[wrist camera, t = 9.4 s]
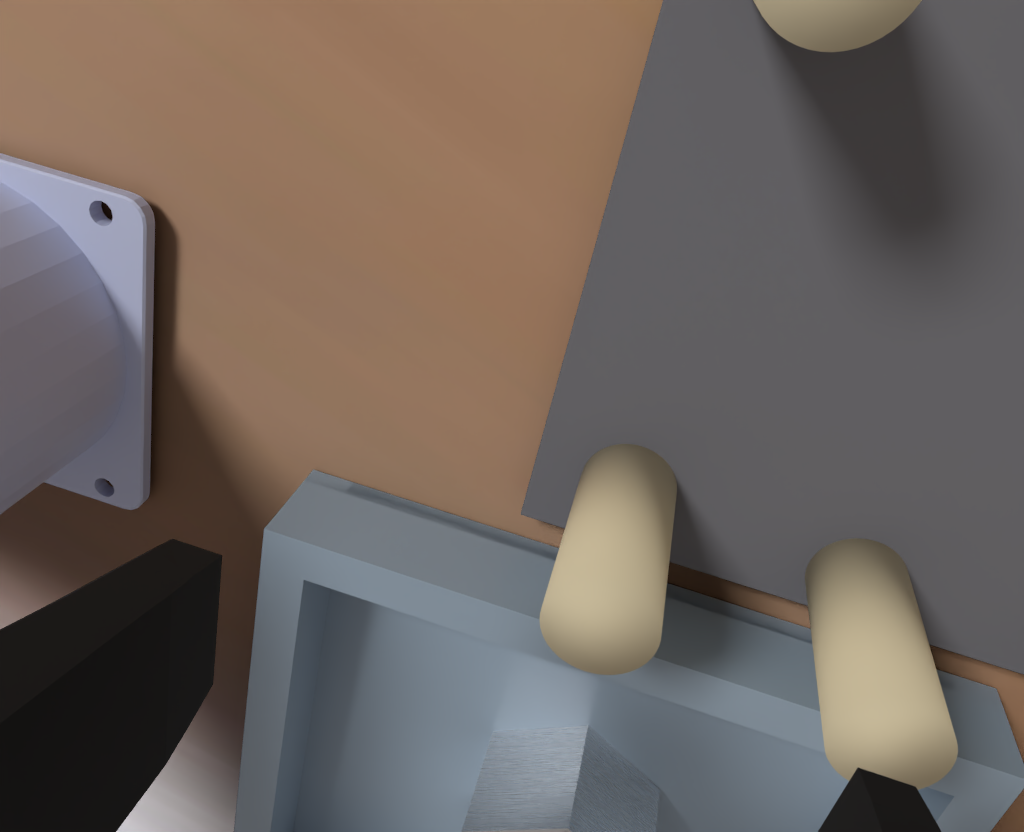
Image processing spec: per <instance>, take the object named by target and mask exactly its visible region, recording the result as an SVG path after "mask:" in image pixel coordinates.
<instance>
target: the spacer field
mask: <svg viewBox="0 0 1024 832" xmlns="http://www.w3.org/2000/svg"><path fill="white" fill-rule="evenodd" d="M521 515H524V516H527V517H531V518H534V519H537V520H540V521H543V522H546V523H549V524H552V525H556V526H559V527H562V528H565V531H564V534H563V537H562V541H561V544H560V547H559V551H558V554H557V557H556V561H555V564H554V567H553V571H552V574H551V577H550V581H549V584H548V587H547V591H546V594H545V597H544V601H543V604H542V607H541V612H540V628H541V632H542V635H543V637H544V639H545V641H546V643H547V644H548V646H549V647H550V648H551V650H552V651H553V652H554V653H555V654H556V655H557V656H558V657H560V658H561V659H562V660H563V661H565V662H566V663H568V664H570V665H571V666H573V667H575V668H578V669H580V670H583V671H586V672H589V673H594V674H600V675H617V674H624V673H628V672H631V671H633V670H636V669H638V668H640V667H642V666H643V665H645V664H646V663H647V662H648V661H649V660H650V659H651V658H652V657H653V656H654V655H655V653H656V652H657V650H658V648H659V645H660V642H661V635H662V626H663V617H664V607H665V598H666V589H667V579H668V570H669V562H672V563H675V564H678V565H681V566H684V567H688V568H691V569H694V570H697V571H700V572H703V573H706V574H710V575H713V576H716V577H719V578H722V579H725V580H728V581H732V582H735V583H738V584H741V585H744V586H747V587H750V588H754V589H757V590H760V591H763V592H766V593H769V594H772V595H776V596H779V597H782V598H785V599H788V600H791V601H794V602H798V603H801V604H804V605H807V606H808V611H809V619H810V628H811V637H812V645H813V654H814V662H815V671H816V680H817V688H818V697H819V705H820V714H821V722H822V731H823V740H824V748H825V753H826V757H827V759H828V761H829V763H830V764H831V765H832V767H833V768H834V769H835V770H836V771H837V772H838V773H839V774H840V775H841V776H842V777H844V778H845V779H847V780H848V781H850V779H851V777H852V776H853V774H854V773H855V771H856V769H857V768H861V769H864V770H867V771H870V772H873V773H876V774H879V775H882V776H885V777H888V778H891V779H894V780H897V781H900V782H903V783H906V784H909V785H912V786H915V787H916V788H917V789H918V790H919V789H923V788H925V787H928V786H930V785H932V784H934V783H936V782H938V781H939V780H941V779H942V778H943V777H944V776H945V775H947V774H948V772H949V771H950V770H951V769H952V767H953V766H954V764H955V761H956V759H957V754H958V744H957V740H956V736H955V733H954V729H953V726H952V722H951V719H950V715H949V712H948V708H947V705H946V701H945V698H944V694H943V691H942V688H941V684H940V681H939V677H938V674H937V670H936V667H935V663H934V660H933V656H932V653H931V649H930V646H929V645H933V646H936V647H939V648H942V649H945V650H948V651H951V652H955V653H958V654H961V655H964V656H967V657H970V658H973V659H977V660H980V661H983V662H986V663H989V664H992V665H995V666H999V667H1002V668H1005V669H1008V670H1011V671H1014V672H1017V673H1021V674H1024V0H663V3H662V7H661V10H660V14H659V17H658V21H657V25H656V28H655V32H654V35H653V39H652V43H651V46H650V50H649V53H648V57H647V61H646V64H645V68H644V71H643V75H642V79H641V82H640V86H639V90H638V93H637V97H636V100H635V104H634V108H633V111H632V115H631V118H630V122H629V126H628V129H627V133H626V136H625V140H624V144H623V147H622V151H621V154H620V158H619V162H618V165H617V169H616V172H615V176H614V180H613V183H612V187H611V190H610V194H609V198H608V201H607V205H606V208H605V212H604V216H603V219H602V223H601V226H600V230H599V234H598V237H597V241H596V244H595V248H594V252H593V255H592V259H591V262H590V266H589V270H588V273H587V277H586V280H585V284H584V288H583V291H582V295H581V298H580V302H579V306H578V309H577V313H576V316H575V320H574V324H573V327H572V331H571V334H570V338H569V342H568V345H567V349H566V353H565V356H564V360H563V363H562V367H561V371H560V374H559V378H558V381H557V385H556V389H555V392H554V396H553V399H552V403H551V407H550V410H549V414H548V417H547V421H546V425H545V428H544V432H543V435H542V439H541V443H540V446H539V450H538V453H537V457H536V461H535V464H534V468H533V471H532V475H531V479H530V482H529V486H528V489H527V493H526V497H525V500H524V504H523V507H522V511H521Z"/></svg>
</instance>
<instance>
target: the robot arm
mask: <svg viewBox="0 0 1024 832" xmlns="http://www.w3.org/2000/svg"><path fill="white" fill-rule="evenodd" d="M102 202H104V203H106V204H107V205H108V206H109V208H110V209H111V211H112V215H113V218H112V220H110V219H109V218H107V217H106V216H105V214H104V213H103V211H102V207H101V204H102ZM154 253H155V219H154V213H153V211H152V209H151V207H150V205H149V204H148V203H147V202H146V201H145V200H144V199H143V198H142V197H141V196H139V195H137V194H135V193H133V192H130V191H126V190H123V189H119V188H116V187H113V186H109V185H106V184H103V183H99V182H96V181H92V180H89V179H86V178H82V177H79V176H76V175H72V174H69V173H65V172H62V171H59V170H55V169H52V168H49V167H45V166H42V165H38V164H35V163H32V162H28V161H25V160H22V159H18V158H15V157H11V156H8V155H5V154H1V153H0V514H2V513H3V512H4V511H6V510H7V509H8V508H10V507H11V506H12V505H14V504H15V503H16V502H18V501H19V500H20V499H22V498H23V497H24V496H26V495H27V494H28V493H30V492H31V491H32V490H34V489H35V488H36V487H38V486H39V485H40V484H42V483H43V482H45V483H48V484H51V485H54V486H57V487H60V488H63V489H66V490H69V491H72V492H75V493H78V494H81V495H84V496H87V497H90V498H93V499H96V500H99V501H102V502H105V503H108V504H111V505H114V506H117V507H120V508H123V509H128V510H133V509H137V508H138V507H140V506H141V505H142V504H143V503H144V502H145V501H146V500H147V499H148V498H149V494H150V464H151V411H152V358H153V305H154ZM105 479H106V480H108V481H109V482H110V483H111V484H112V485H113V487H112V486H110V485H109V484H108V483H107V482H106V480H105ZM221 564H222V555H219V554H216V553H213V552H210V551H207V550H204V549H201V548H198V547H195V546H192V545H189V544H186V543H183V542H180V541H177V540H174V539H171V540H169V541H167V542H165V543H163V544H162V545H160V546H158V547H156V548H154V549H152V550H150V551H148V552H146V553H144V554H142V555H140V556H138V557H136V558H135V559H133V560H131V561H129V562H127V563H125V564H123V565H122V566H120V567H118V568H116V569H114V570H112V571H110V572H109V573H107V574H105V575H103V576H101V577H99V578H98V579H96V580H94V581H92V582H90V583H88V584H86V585H85V586H83V587H81V588H79V589H77V590H75V591H73V592H71V593H70V594H68V595H66V596H64V597H62V598H60V599H58V600H57V601H55V602H53V603H51V604H49V605H47V606H45V607H43V608H41V609H39V610H37V611H35V612H34V613H32V614H30V615H28V616H26V617H24V618H22V619H20V620H18V621H16V622H14V623H12V624H10V625H8V626H6V627H4V628H2V629H0V832H116V831H117V830H118V828H119V827H120V826H121V824H122V823H123V821H124V820H125V819H126V817H127V816H128V815H129V813H130V812H131V811H132V809H133V808H134V807H135V805H136V804H137V803H138V801H139V800H140V799H141V797H142V796H143V795H144V793H145V792H146V791H147V789H148V788H149V787H150V785H151V784H152V783H153V781H154V780H155V778H156V777H157V776H158V774H159V773H160V772H161V770H162V769H163V768H164V766H165V765H166V763H167V762H168V760H169V758H170V757H171V755H172V753H173V752H174V750H175V748H176V747H177V745H178V743H179V742H180V740H181V738H182V737H183V735H184V733H185V732H186V730H187V728H188V727H189V725H190V723H191V721H192V720H193V718H194V716H195V714H196V713H197V711H198V709H199V707H200V706H201V704H202V702H203V700H204V699H205V697H206V695H207V694H208V692H209V690H210V688H211V687H212V685H213V676H214V662H215V648H216V634H217V620H218V606H219V592H220V578H221ZM818 832H941V830H940V828H939V826H938V824H937V823H936V821H935V819H934V817H933V816H932V814H931V812H930V810H929V808H928V807H927V805H926V803H925V802H924V800H923V798H922V796H921V795H920V793H919V791H918V789H917V788H916V787H915V786H912V785H909V784H906V783H903V782H900V781H897V780H894V779H891V778H888V777H885V776H882V775H879V774H876V773H873V772H870V771H867V770H864V769H861V768H857V769H856V771H855V773H854V774H853V776H852V777H851V779H850V781H849V782H848V784H847V785H846V787H845V789H844V790H843V792H842V793H841V795H840V797H839V798H838V800H837V802H836V803H835V805H834V806H833V808H832V810H831V811H830V813H829V814H828V816H827V818H826V819H825V821H824V822H823V824H822V826H821V827H820V829H819V830H818Z"/></svg>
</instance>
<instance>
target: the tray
mask: <svg viewBox="0 0 1024 832" xmlns="http://www.w3.org/2000/svg"><path fill="white" fill-rule="evenodd" d="M558 551H559V548H556V547H553V546H550V545H547V544H544V543H541V542H538V541H534V540H531V539H528V538H525V537H522V536H519V535H516V534H513V533H510V532H506V531H503V530H500V529H497V528H494V527H491V526H488V525H485V524H481V523H478V522H475V521H472V520H469V519H466V518H463V517H460V516H457V515H453V514H450V513H447V512H444V511H441V510H438V509H435V508H432V507H428V506H425V505H422V504H419V503H416V502H413V501H410V500H407V499H403V498H400V497H397V496H394V495H391V494H388V493H385V492H382V491H379V490H375V489H372V488H369V487H366V486H363V485H360V484H357V483H354V482H350V481H347V480H344V479H341V478H338V477H335V476H332V475H329V474H326V473H322V472H319V471H316V470H313V471H312V472H311V473H310V474H309V476H308V477H307V478H306V479H305V480H304V482H303V483H302V484H301V485H300V486H299V488H298V489H297V490H296V491H295V492H294V494H293V495H292V496H291V497H290V498H289V500H288V501H287V502H286V503H285V504H284V506H283V507H282V508H281V509H280V510H279V512H278V513H277V514H276V515H275V516H274V518H273V519H272V520H271V521H270V522H269V524H268V525H267V526H266V527H265V528H264V535H263V545H262V555H261V565H260V575H259V585H258V595H257V605H256V615H255V625H254V635H253V645H252V655H251V665H250V675H249V685H248V695H247V705H246V715H245V725H244V735H243V745H242V755H241V765H240V775H239V786H238V796H237V806H236V816H235V826H234V832H461V831H462V828H463V825H464V822H465V819H466V816H467V812H468V809H469V806H470V803H471V800H472V796H473V793H474V790H475V787H476V784H477V780H478V777H479V774H480V771H481V768H482V765H483V761H484V758H485V755H486V752H487V749H488V745H489V742H490V739H491V736H492V733H493V731H505V730H521V729H536V728H552V727H567V726H582V725H589V726H590V727H591V728H592V729H593V730H594V731H596V732H597V733H598V734H599V735H600V736H601V737H602V738H604V739H605V740H606V741H607V742H608V743H609V744H610V745H612V746H613V747H614V748H615V749H616V750H617V751H618V752H620V753H621V754H622V755H623V756H624V757H625V758H626V759H628V760H629V761H630V762H631V763H632V764H633V765H635V766H636V767H637V768H638V769H639V770H640V771H641V772H643V773H644V774H645V775H646V776H647V777H648V778H649V779H651V780H652V781H653V782H654V783H655V784H656V785H657V786H659V787H660V791H659V802H658V813H657V824H656V832H818V830H819V829H820V827H821V826H822V824H823V822H824V821H825V819H826V818H827V816H828V814H829V813H830V811H831V810H832V808H833V806H834V805H835V803H836V802H837V800H838V798H839V797H840V795H841V793H842V792H843V790H844V789H845V787H846V785H847V784H848V782H849V781H848V780H847V779H845V778H844V777H842V776H841V775H840V774H839V773H838V772H837V771H836V770H835V769H834V768H833V767H832V765H831V764H830V763H829V761H828V759H827V757H826V753H825V748H824V740H823V731H822V722H821V714H820V705H819V697H818V688H817V680H816V671H815V662H814V654H813V645H812V637H811V629H809V628H806V627H803V626H800V625H796V624H793V623H790V622H787V621H784V620H781V619H778V618H775V617H772V616H768V615H765V614H762V613H759V612H756V611H753V610H750V609H747V608H743V607H740V606H737V605H734V604H731V603H728V602H725V601H722V600H718V599H715V598H712V597H709V596H706V595H703V594H700V593H697V592H694V591H690V590H687V589H684V588H681V587H678V586H675V585H672V584H669V583H667V589H666V598H665V607H664V617H663V626H662V635H661V642H660V645H659V648H658V650H657V652H656V653H655V655H654V656H653V657H652V658H651V659H650V660H649V661H648V662H647V663H646V664H645V665H643V666H642V667H640V668H638V669H636V670H633V671H631V672H628V673H624V674H617V675H600V674H594V673H589V672H586V671H583V670H580V669H578V668H575V667H573V666H571V665H570V664H568V663H566V662H565V661H563V660H562V659H561V658H560V657H558V656H557V655H556V654H555V653H554V652H553V651H552V650H551V648H550V647H549V646H548V644H547V643H546V641H545V639H544V637H543V635H542V632H541V628H540V612H541V607H542V604H543V601H544V597H545V594H546V591H547V587H548V584H549V581H550V577H551V574H552V571H553V567H554V564H555V561H556V557H557V554H558ZM936 670H937V669H936ZM937 674H938V677H939V681H940V684H941V688H942V691H943V694H944V698H945V701H946V705H947V708H948V712H949V715H950V719H951V722H952V726H953V729H954V733H955V736H956V740H957V744H958V754H957V759H956V761H955V764H954V766H953V767H952V769H951V770H950V771H949V772H948V774H947V775H945V776H944V777H943V778H942V779H941V780H939V781H938V782H936V783H934V784H932V785H930V786H928V787H925V788H923V789H919V790H918V791H919V793H920V795H921V796H922V798H923V800H924V802H925V803H926V805H927V807H928V808H929V810H930V812H931V814H932V816H933V817H934V819H935V821H936V823H937V824H938V826H939V828H940V830H941V832H990V831H991V830H992V829H993V827H994V826H995V825H996V824H997V822H998V821H999V820H1000V818H1001V817H1002V816H1003V815H1004V813H1005V812H1006V811H1007V809H1008V808H1009V807H1010V806H1011V804H1012V803H1013V802H1014V800H1015V799H1016V798H1017V797H1018V795H1019V794H1020V793H1021V791H1022V790H1023V789H1024V763H1023V760H1022V758H1021V755H1020V752H1019V749H1018V747H1017V744H1016V741H1015V738H1014V736H1013V733H1012V730H1011V727H1010V725H1009V722H1008V719H1007V716H1006V714H1005V711H1004V708H1003V705H1002V703H1001V700H1000V697H999V694H998V692H997V689H996V688H993V687H990V686H987V685H984V684H980V683H977V682H974V681H971V680H968V679H965V678H962V677H959V676H956V675H952V674H949V673H946V672H943V671H940V670H937Z"/></svg>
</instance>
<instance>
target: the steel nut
mask: <svg viewBox="0 0 1024 832" xmlns="http://www.w3.org/2000/svg"><path fill="white" fill-rule="evenodd" d="M659 791H660V787H659V786H657V785H656V784H655V783H654V782H653V781H652V780H651V779H649V778H648V777H647V776H646V775H645V774H644V773H643V772H641V771H640V770H639V769H638V768H637V767H636V766H635V765H633V764H632V763H631V762H630V761H629V760H628V759H626V758H625V757H624V756H623V755H622V754H621V753H620V752H618V751H617V750H616V749H615V748H614V747H613V746H612V745H610V744H609V743H608V742H607V741H606V740H605V739H604V738H602V737H601V736H600V735H599V734H598V733H597V732H596V731H594V730H593V729H592V728H591V727H590V726H589V725H582V726H567V727H552V728H536V729H521V730H505V731H493V733H492V736H491V739H490V742H489V745H488V749H487V752H486V755H485V758H484V761H483V765H482V768H481V771H480V774H479V777H478V780H477V784H476V787H475V790H474V793H473V796H472V800H471V803H470V806H469V809H468V812H467V816H466V819H465V822H464V825H463V828H462V831H461V832H656V824H657V813H658V802H659Z"/></svg>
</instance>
